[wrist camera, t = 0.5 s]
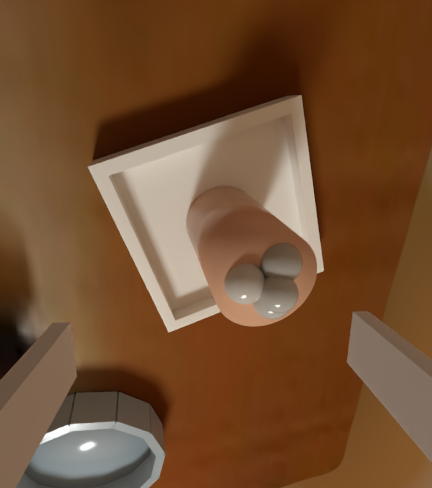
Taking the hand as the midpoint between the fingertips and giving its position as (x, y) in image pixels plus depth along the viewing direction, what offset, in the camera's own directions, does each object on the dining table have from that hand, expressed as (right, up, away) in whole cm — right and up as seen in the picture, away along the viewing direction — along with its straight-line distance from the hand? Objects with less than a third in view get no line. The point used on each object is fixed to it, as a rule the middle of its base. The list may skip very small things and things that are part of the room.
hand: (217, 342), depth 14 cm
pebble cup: (0, +7, +12) cm, 14 cm away
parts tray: (0, +7, +13) cm, 15 cm away
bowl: (-15, -18, +21) cm, 31 cm away
